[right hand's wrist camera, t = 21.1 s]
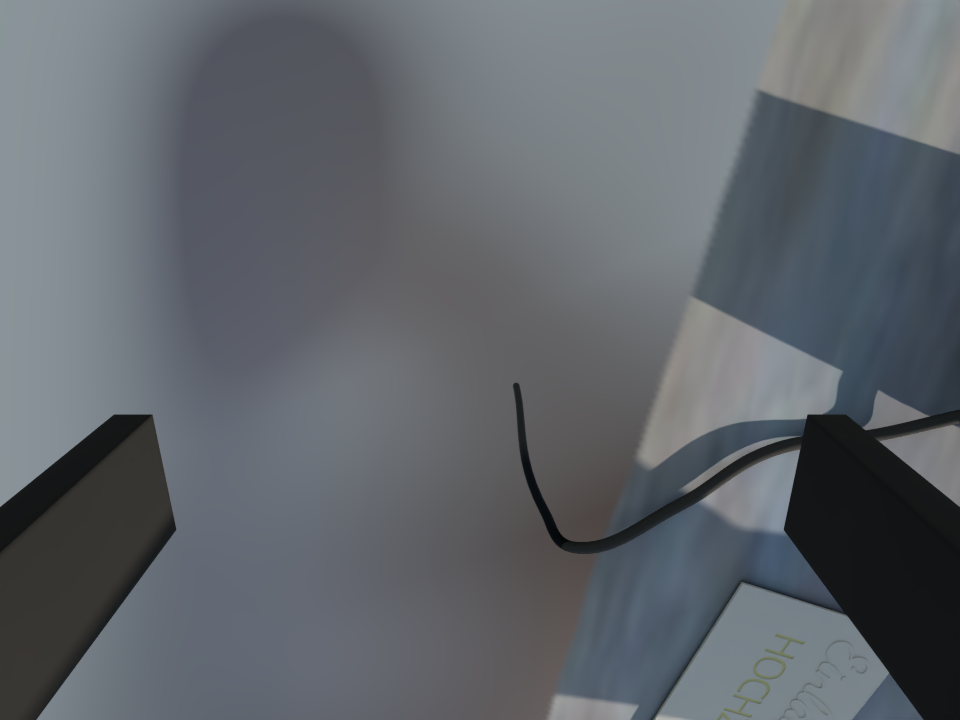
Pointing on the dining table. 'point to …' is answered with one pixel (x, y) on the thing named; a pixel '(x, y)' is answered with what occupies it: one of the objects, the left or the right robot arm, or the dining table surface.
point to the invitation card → (776, 664)
